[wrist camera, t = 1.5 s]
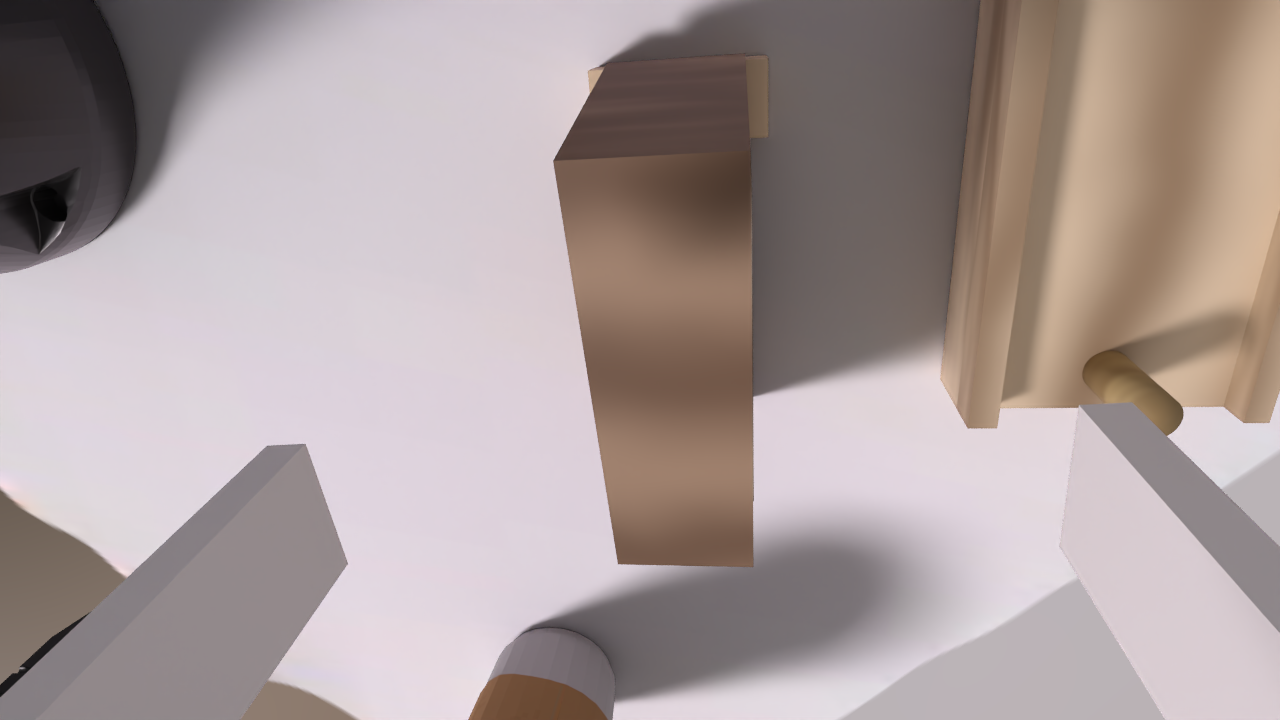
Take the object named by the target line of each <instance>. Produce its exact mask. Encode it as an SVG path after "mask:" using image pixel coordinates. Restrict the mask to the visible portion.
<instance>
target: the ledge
mask: <svg viewBox="0 0 1280 720" xmlns="http://www.w3.org/2000/svg"><path fill="white" fill-rule="evenodd" d="M940 380H941V381H942V383H943V385H944V387H945V389H946V390H947V392H948V394H949V396H950V397H951V399H952V401H953V403H954V405H955V406H956V408H957V410H958V412H959V414H960V415H961V417H962V419H963V421H964V423H965V424H966V426H967V428H997V425H998V418H999V412H1000V408H1079V405H1088V404H1108V403H1128V402H1132V403H1133V404H1134V405H1135V406H1136V407H1137V408H1138V409H1139V410H1140V411H1142V412H1143V413H1144V414H1145V415H1146V416H1147V417H1148V418H1149V419H1150V420H1151V421H1152V422H1153V423H1154V424H1155V425H1156V426H1157V427H1158V428H1159V429H1160V430H1161V431H1162V432H1163V433H1164V434H1165V435H1166V436H1168V435H1169V434H1171V433H1172V432H1174V431H1175V430H1176V429H1177V428H1178V426H1179V425H1180V423H1181V421H1182V419H1183V409H1182V407H1225V408H1226V409H1227V410H1228V411H1230V412H1231V413H1232V414H1233V415H1234V416H1236V417H1237V418H1238V419H1239V420H1241V421H1242V422H1243V423H1269V422H1270V419H1271V416H1272V413H1273V410H1274V407H1275V403H1276V400H1277V397H1278V394H1279V391H1280V0H980V9H979V19H978V28H977V38H976V47H975V57H974V66H973V76H972V85H971V94H970V104H969V113H968V123H967V132H966V142H965V151H964V161H963V170H962V179H961V189H960V198H959V208H958V217H957V227H956V236H955V246H954V255H953V264H952V274H951V283H950V293H949V302H948V312H947V321H946V331H945V340H944V349H943V359H942V368H941V378H940Z"/></svg>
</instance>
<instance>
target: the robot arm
mask: <svg viewBox="0 0 1280 720" xmlns="http://www.w3.org/2000/svg"><path fill="white" fill-rule="evenodd" d="M135 147H136V132H135V118H134V110H133V104H132V98H131V93H130V89H129V85H128V81H127V78H126V74H125V71H124V68H123V64H122V62H121V59H120V56H119V54H118V51H117V48H116V46H115V44H114V41H113V39H112V37H111V34H110V32H109V30H108V28H107V26H106V24H105V22H104V20H103V18H102V16H101V15H100V13H99V11H98V9H97V8H96V6H95V4H94V2H93V1H92V0H0V274H2V273H7V272H13V271H18V270H22V269H26V268H29V267H32V266H34V265H37V264H40V263H43V262H46V261H49V260H51V259H54V258H57V257H60V256H63V255H65V254H68V253H71V252H73V251H75V250H77V249H79V248H81V247H83V246H84V245H86V244H87V243H89V242H91V241H92V240H93V239H94V238H96V237H97V236H98V235H99V234H100V233H101V232H102V231H103V230H104V229H105V228H106V227H107V226H108V225H109V223H110V222H111V221H112V220H113V218H114V217H115V215H116V214H117V212H118V210H119V209H120V207H121V205H122V203H123V201H124V198H125V196H126V193H127V191H128V188H129V184H130V181H131V177H132V172H133V167H134V160H135ZM1059 547H1060V548H1061V550H1062V552H1063V553H1064V555H1065V557H1066V558H1067V560H1068V562H1069V563H1070V565H1071V566H1072V568H1073V570H1074V571H1075V573H1076V575H1077V576H1078V578H1079V579H1080V581H1081V583H1082V584H1083V586H1084V587H1085V589H1086V591H1087V592H1088V594H1089V596H1090V597H1091V599H1092V601H1093V602H1094V604H1095V606H1096V607H1097V609H1098V610H1099V612H1100V614H1101V615H1102V617H1103V619H1104V620H1105V622H1106V624H1107V625H1108V627H1109V628H1110V630H1111V632H1112V633H1113V635H1114V637H1115V638H1116V640H1117V642H1118V643H1119V645H1120V646H1121V648H1122V650H1123V651H1124V653H1125V655H1126V656H1127V658H1128V659H1129V661H1130V663H1131V664H1132V666H1133V668H1134V669H1135V671H1136V673H1137V674H1138V676H1139V677H1140V679H1141V681H1142V682H1143V684H1144V686H1145V687H1146V689H1147V691H1148V692H1149V694H1150V695H1151V697H1152V698H1153V700H1154V702H1155V704H1156V705H1157V707H1158V709H1159V710H1160V712H1161V713H1162V715H1163V717H1164V718H1165V720H1280V547H1279V546H1278V545H1277V544H1276V543H1275V542H1274V541H1273V540H1272V539H1271V538H1270V537H1269V536H1268V535H1267V534H1266V533H1265V532H1264V531H1263V530H1262V529H1261V528H1260V527H1259V526H1258V525H1257V524H1256V523H1255V522H1254V521H1253V520H1252V519H1251V518H1250V517H1249V516H1248V515H1247V514H1246V513H1245V512H1244V511H1243V510H1242V509H1241V508H1239V506H1238V505H1237V504H1236V503H1234V502H1233V501H1232V500H1231V499H1230V498H1229V497H1228V496H1227V495H1226V494H1225V493H1224V492H1223V491H1222V490H1221V489H1220V488H1219V487H1218V486H1217V485H1216V484H1215V483H1214V482H1213V481H1212V480H1211V479H1210V478H1209V477H1208V476H1207V475H1206V474H1205V473H1204V472H1203V471H1202V470H1201V469H1200V468H1199V467H1198V466H1197V465H1196V464H1195V463H1194V462H1193V461H1192V460H1191V459H1190V458H1189V457H1187V456H1186V455H1185V454H1184V453H1183V452H1182V451H1181V450H1180V449H1179V448H1178V447H1177V446H1176V445H1175V444H1174V443H1173V442H1172V441H1171V440H1170V439H1169V438H1168V437H1167V436H1166V435H1165V434H1164V433H1163V432H1162V431H1161V430H1160V429H1159V428H1158V427H1157V426H1156V425H1155V424H1154V423H1153V422H1152V421H1151V420H1150V419H1149V418H1148V417H1147V416H1146V415H1145V414H1144V413H1143V412H1142V411H1140V410H1139V409H1138V408H1137V407H1136V406H1135V405H1134V404H1133V403H1132V402H1128V403H1108V404H1088V405H1079V408H1078V415H1077V422H1076V429H1075V437H1074V444H1073V451H1072V458H1071V466H1070V473H1069V480H1068V487H1067V495H1066V502H1065V509H1064V516H1063V523H1062V531H1061V538H1060V545H1059ZM347 564H348V563H347V560H346V557H345V554H344V551H343V548H342V546H341V543H340V540H339V537H338V534H337V532H336V529H335V526H334V523H333V520H332V517H331V515H330V512H329V509H328V506H327V503H326V500H325V498H324V495H323V492H322V489H321V486H320V483H319V481H318V478H317V475H316V472H315V469H314V467H313V464H312V461H311V458H310V455H309V452H308V450H307V447H306V444H294V445H274V446H266V447H265V448H264V449H263V450H262V451H261V452H260V453H259V454H258V455H257V456H256V457H255V458H254V459H253V460H252V461H251V462H250V463H248V464H247V465H246V466H245V467H244V468H243V469H242V470H241V471H240V472H239V473H238V474H237V475H236V476H235V477H234V478H233V479H231V480H230V481H229V482H228V483H227V484H226V485H225V486H224V487H223V488H222V489H221V490H220V491H219V492H218V493H217V494H216V495H215V496H213V497H212V498H211V499H210V500H209V501H208V502H207V503H206V504H205V505H204V506H203V507H202V508H201V509H200V510H199V511H198V512H196V513H195V514H194V515H193V516H192V517H191V518H190V519H189V520H188V521H187V522H186V523H185V524H184V525H183V526H182V527H181V528H180V529H178V530H177V531H176V532H175V533H174V534H173V535H172V536H171V537H170V538H169V539H168V540H167V541H166V542H165V543H164V544H163V545H161V546H160V547H159V548H158V549H157V550H156V551H155V552H154V553H153V554H152V555H151V556H150V557H149V558H148V559H147V560H146V561H145V562H143V563H142V564H141V565H140V566H139V567H138V568H137V569H136V570H135V571H134V572H133V573H132V574H131V575H130V576H129V577H128V578H126V579H125V580H124V581H123V582H122V583H121V584H120V585H119V586H118V587H117V588H116V589H115V590H114V591H113V592H112V593H111V594H110V595H108V596H107V597H106V598H105V599H104V600H103V601H102V602H101V603H100V604H99V605H98V606H97V607H96V608H95V609H94V610H93V611H91V612H90V613H88V614H87V615H85V616H84V617H82V618H81V619H79V620H77V621H76V622H74V623H73V624H71V625H70V626H68V627H67V628H65V629H64V630H62V631H61V632H59V633H58V634H56V635H54V636H53V637H52V638H50V639H49V640H48V641H47V642H46V643H45V644H44V645H43V646H42V647H41V648H40V649H39V650H38V651H36V652H35V653H34V654H33V655H32V656H31V657H30V658H29V659H28V660H27V661H26V662H25V663H24V664H22V665H21V666H20V667H19V669H20V670H19V672H18V673H15V674H14V673H13V674H12V675H11V676H9V677H8V678H7V679H6V680H5V681H4V682H3V683H2V684H1V685H0V720H240V719H241V718H242V716H243V715H244V713H245V712H246V711H247V709H248V708H249V706H250V705H251V703H252V702H253V700H254V699H255V698H256V696H257V695H258V693H259V692H260V690H261V689H262V687H263V686H264V685H265V683H266V682H267V680H268V679H269V677H270V676H271V674H272V673H273V672H274V670H275V669H276V667H277V666H278V664H279V663H280V661H281V660H282V658H283V657H284V656H285V654H286V653H287V651H288V650H289V648H290V647H291V645H292V644H293V643H294V641H295V640H296V638H297V637H298V635H299V634H300V632H301V631H302V629H303V628H304V627H305V625H306V624H307V622H308V621H309V619H310V618H311V616H312V615H313V614H314V612H315V611H316V609H317V608H318V606H319V605H320V603H321V602H322V600H323V599H324V598H325V596H326V595H327V593H328V592H329V590H330V589H331V587H332V586H333V585H334V583H335V582H336V580H337V579H338V577H339V576H340V574H341V573H342V571H343V570H344V569H345V567H346V566H347Z"/></svg>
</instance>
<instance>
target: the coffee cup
mask: <svg viewBox="0 0 1280 720" xmlns="http://www.w3.org/2000/svg"><path fill="white" fill-rule="evenodd" d="M614 699H615V676H614V674H613V671H612V668H611V666H610V663H609V661H608V658H607V657H606V655H605V654H604V653H603V651H602V650H601V649H600V648H599V647H598V646H597V645H596V644H595V643H593V642H592V641H591V640H590V639H588V638H586V637H584V636H582V635H580V634H578V633H576V632H572V631H569V630H566V629H560V628H540V629H534V630H531V631H529V632H526V633H523V634H522V635H521V636H519V637H518V638H516V639H515V640H514V641H513V642H512V643H510V644H509V645H508V646H506V648H505V649H504V650H503V652H502V653H501V655H500V656H499V658H498V660H497V662H496V665H495V667H494V669H493V671H492V673H491V676H490V678H489V680H488V682H487V684H486V686H485V688H484V689H483V690H482V692H481V693H480V696H479V698H478V700H477V702H476V704H475V706H474V709H473V711H472V713H471V715H470V717H469V719H468V720H612V719H613V709H614Z"/></svg>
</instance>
